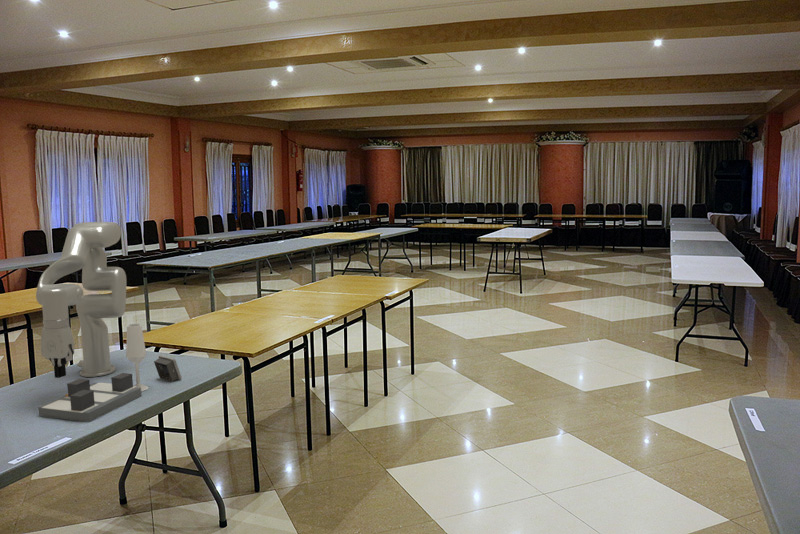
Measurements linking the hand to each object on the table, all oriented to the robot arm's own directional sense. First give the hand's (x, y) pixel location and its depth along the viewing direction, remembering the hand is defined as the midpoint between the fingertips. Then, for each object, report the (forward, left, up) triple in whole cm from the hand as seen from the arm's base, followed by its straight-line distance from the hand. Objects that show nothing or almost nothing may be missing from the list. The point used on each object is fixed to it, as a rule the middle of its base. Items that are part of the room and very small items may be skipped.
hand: (60, 376), depth 204 cm
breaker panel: (+12, +1, -9) cm, 15 cm away
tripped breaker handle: (+7, +1, -6) cm, 9 cm away
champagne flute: (+16, +19, -10) cm, 26 cm away
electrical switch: (+20, +31, -10) cm, 38 cm away
